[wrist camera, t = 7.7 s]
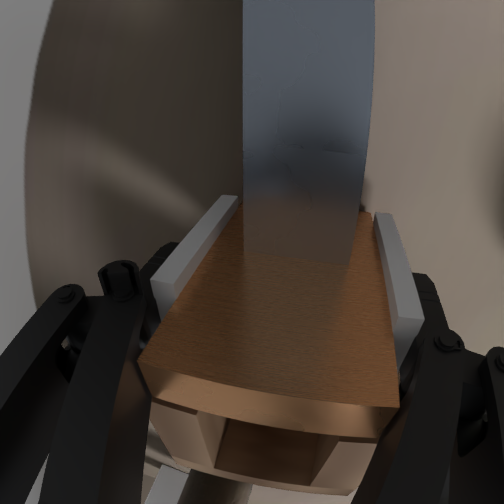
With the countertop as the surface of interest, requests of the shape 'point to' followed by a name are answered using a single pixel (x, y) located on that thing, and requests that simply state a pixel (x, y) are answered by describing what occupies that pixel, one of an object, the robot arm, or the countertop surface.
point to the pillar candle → (213, 490)
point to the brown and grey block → (292, 244)
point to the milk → (167, 486)
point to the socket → (262, 451)
